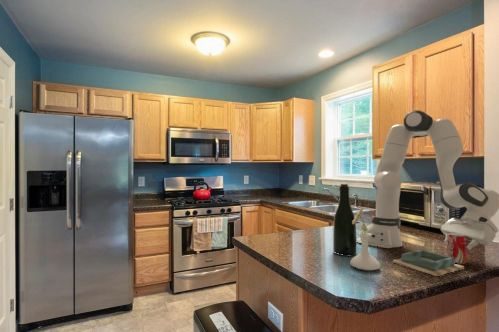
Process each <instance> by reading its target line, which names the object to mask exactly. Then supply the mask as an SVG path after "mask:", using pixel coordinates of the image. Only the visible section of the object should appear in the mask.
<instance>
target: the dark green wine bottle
mask: <svg viewBox="0 0 499 332" xmlns="http://www.w3.org/2000/svg"><path fill="white" fill-rule="evenodd" d="M338 190H339V201H338V206H337V209H336V211H335V214H334V218H333V241H332V242H333V243H332V244H333V245H332V247H333V249H332V250H333V253H334V252H336V253H339V254H343V255H353V256H355V255H357V252H358V251H357V248H358V246H357V244H358V243H357V222H356V223H355V224H352V223H353V222H352V221H353V220H354V219H355V218H354V217H355V216H356V215H355V213H354V211H353V209H352V206H351V203H350V202H351V201H350V187H349V183H341V184H340V186H339V189H338ZM336 253H335V254H336ZM354 254H355V255H354Z"/></svg>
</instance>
